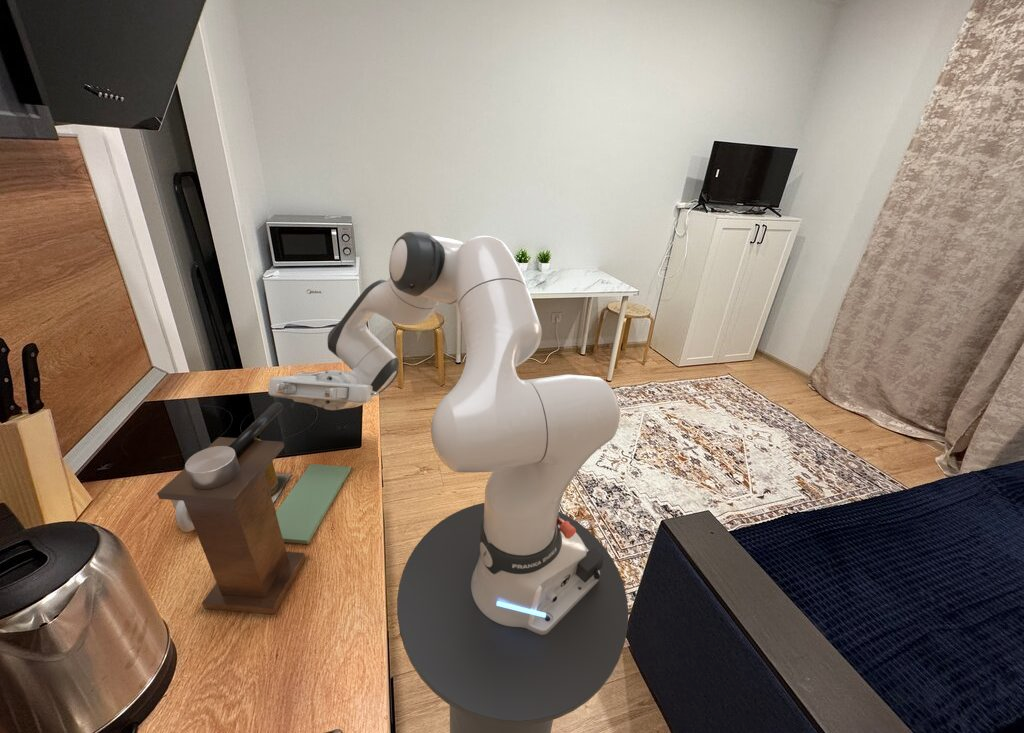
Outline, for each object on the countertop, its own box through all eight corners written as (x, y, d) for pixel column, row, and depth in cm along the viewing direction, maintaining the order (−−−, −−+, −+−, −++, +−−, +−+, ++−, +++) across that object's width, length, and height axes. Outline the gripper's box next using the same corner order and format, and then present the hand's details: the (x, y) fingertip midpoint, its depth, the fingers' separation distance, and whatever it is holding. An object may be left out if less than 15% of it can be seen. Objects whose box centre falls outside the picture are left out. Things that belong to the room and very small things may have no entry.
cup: (233, 500, 84) (222, 466, 80) (210, 541, 75) (196, 505, 71) (193, 503, 82) (179, 468, 78) (165, 545, 74) (148, 509, 70)
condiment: (236, 503, 83) (220, 455, 78) (257, 474, 91) (245, 428, 85) (273, 503, 84) (261, 456, 78) (292, 474, 91) (281, 430, 86)
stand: (250, 544, 75) (215, 436, 64) (311, 549, 75) (286, 441, 64) (204, 609, 64) (152, 493, 53) (274, 614, 64) (237, 499, 53)
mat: (311, 467, 94) (310, 463, 93) (350, 470, 93) (350, 466, 93) (259, 540, 76) (258, 536, 75) (308, 544, 76) (307, 540, 75)
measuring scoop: (264, 408, 72) (261, 394, 70) (296, 410, 72) (294, 396, 70) (180, 487, 54) (173, 471, 53) (222, 491, 54) (217, 474, 53)
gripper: (380, 407, 93) (356, 411, 79) (289, 400, 93) (249, 403, 79) (382, 379, 93) (359, 378, 79) (292, 372, 93) (253, 370, 79)
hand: (303, 390), depth 79 cm, fingers open, 8 cm apart
